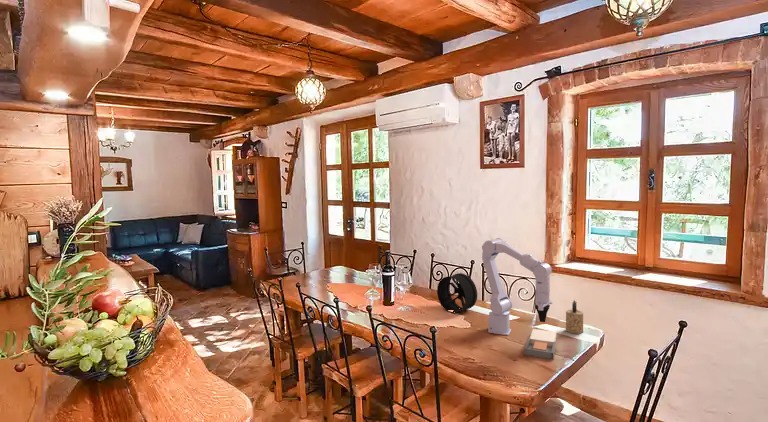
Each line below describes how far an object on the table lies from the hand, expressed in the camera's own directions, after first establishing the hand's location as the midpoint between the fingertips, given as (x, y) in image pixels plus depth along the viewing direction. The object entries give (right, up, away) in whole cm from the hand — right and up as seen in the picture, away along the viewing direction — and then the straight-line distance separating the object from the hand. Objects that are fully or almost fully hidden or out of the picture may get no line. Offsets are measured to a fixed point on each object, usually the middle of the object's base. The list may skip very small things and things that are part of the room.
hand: (542, 321), depth 179 cm
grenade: (+20, -8, +13) cm, 25 cm away
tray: (-4, -11, -7) cm, 13 cm away
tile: (-3, -10, -7) cm, 13 cm away
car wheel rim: (-29, -7, +47) cm, 56 cm away
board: (+2, -10, +4) cm, 10 cm away
